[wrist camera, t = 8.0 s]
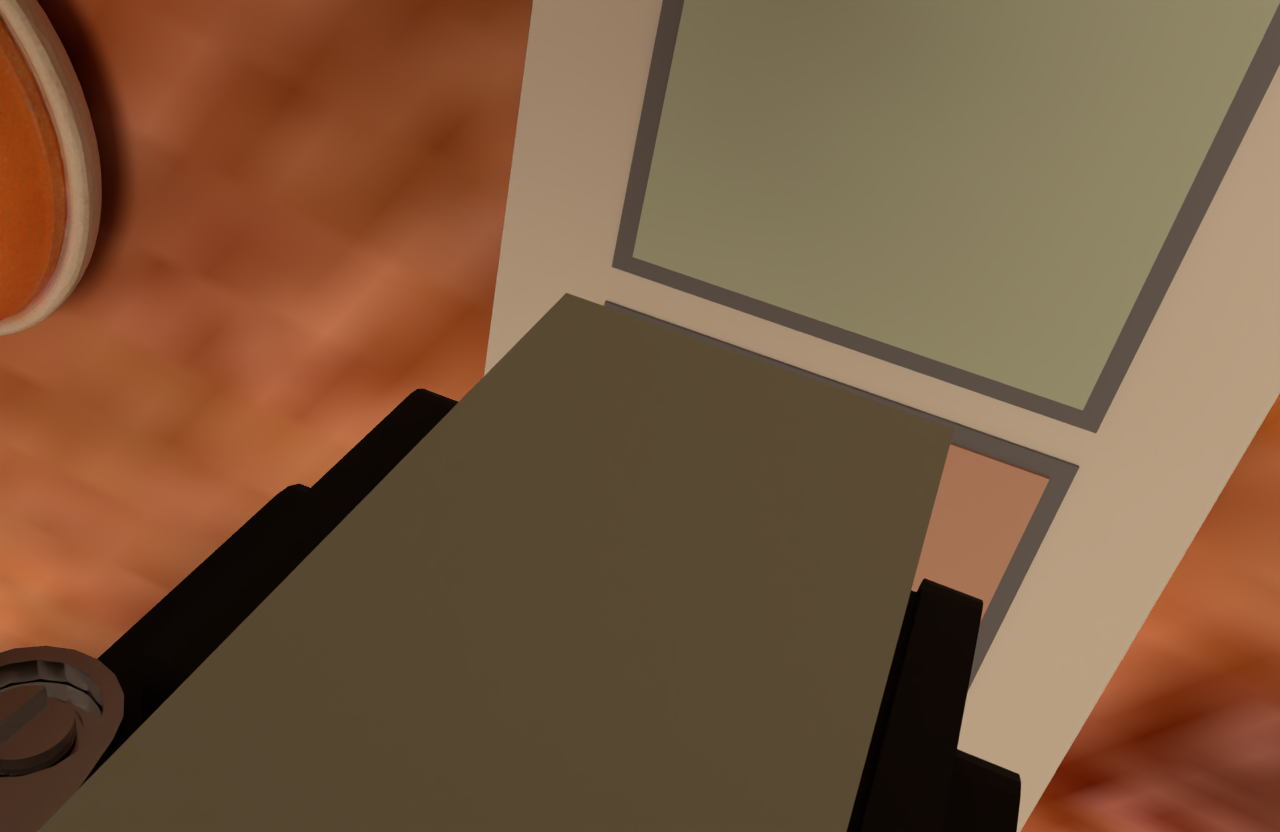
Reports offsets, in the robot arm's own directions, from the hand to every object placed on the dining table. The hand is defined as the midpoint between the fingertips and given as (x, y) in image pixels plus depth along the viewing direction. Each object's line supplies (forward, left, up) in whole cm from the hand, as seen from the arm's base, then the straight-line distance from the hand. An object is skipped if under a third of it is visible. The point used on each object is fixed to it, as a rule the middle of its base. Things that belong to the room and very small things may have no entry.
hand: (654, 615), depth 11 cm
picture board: (+6, 0, -18) cm, 19 cm away
